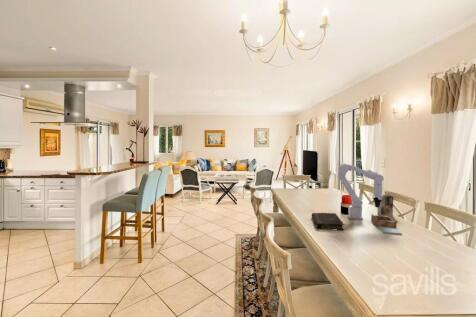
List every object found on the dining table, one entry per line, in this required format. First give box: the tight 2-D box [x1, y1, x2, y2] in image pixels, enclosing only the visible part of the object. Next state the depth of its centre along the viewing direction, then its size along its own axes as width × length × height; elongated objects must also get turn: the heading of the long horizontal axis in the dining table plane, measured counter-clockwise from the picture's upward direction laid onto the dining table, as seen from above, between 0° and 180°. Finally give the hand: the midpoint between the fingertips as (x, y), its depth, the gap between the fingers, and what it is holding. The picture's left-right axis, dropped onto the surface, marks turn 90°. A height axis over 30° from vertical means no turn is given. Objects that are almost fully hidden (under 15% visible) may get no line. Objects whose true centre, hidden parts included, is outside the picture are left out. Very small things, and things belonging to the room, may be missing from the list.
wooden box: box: [370, 213, 398, 228], centre depth 172 cm, size 12×13×5 cm
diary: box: [311, 212, 345, 231], centre depth 174 cm, size 19×25×5 cm
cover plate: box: [378, 226, 403, 236], centre depth 159 cm, size 10×11×2 cm
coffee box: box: [377, 194, 394, 217], centre depth 196 cm, size 9×6×16 cm
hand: (377, 207), depth 184 cm, fingers closed
